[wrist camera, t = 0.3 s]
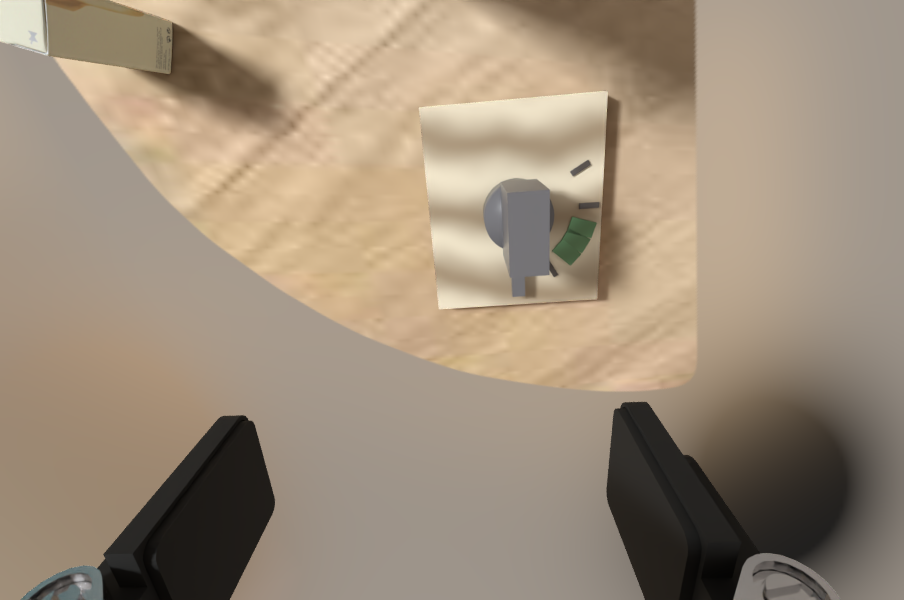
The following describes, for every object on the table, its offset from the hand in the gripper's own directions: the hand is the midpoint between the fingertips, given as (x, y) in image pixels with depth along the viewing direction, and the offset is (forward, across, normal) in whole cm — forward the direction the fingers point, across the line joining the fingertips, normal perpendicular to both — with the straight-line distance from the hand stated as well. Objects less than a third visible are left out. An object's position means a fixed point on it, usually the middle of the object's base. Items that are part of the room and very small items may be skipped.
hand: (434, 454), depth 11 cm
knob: (+32, -6, +2) cm, 32 cm away
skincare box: (+34, +27, -17) cm, 46 cm away
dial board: (+34, -6, 0) cm, 34 cm away
